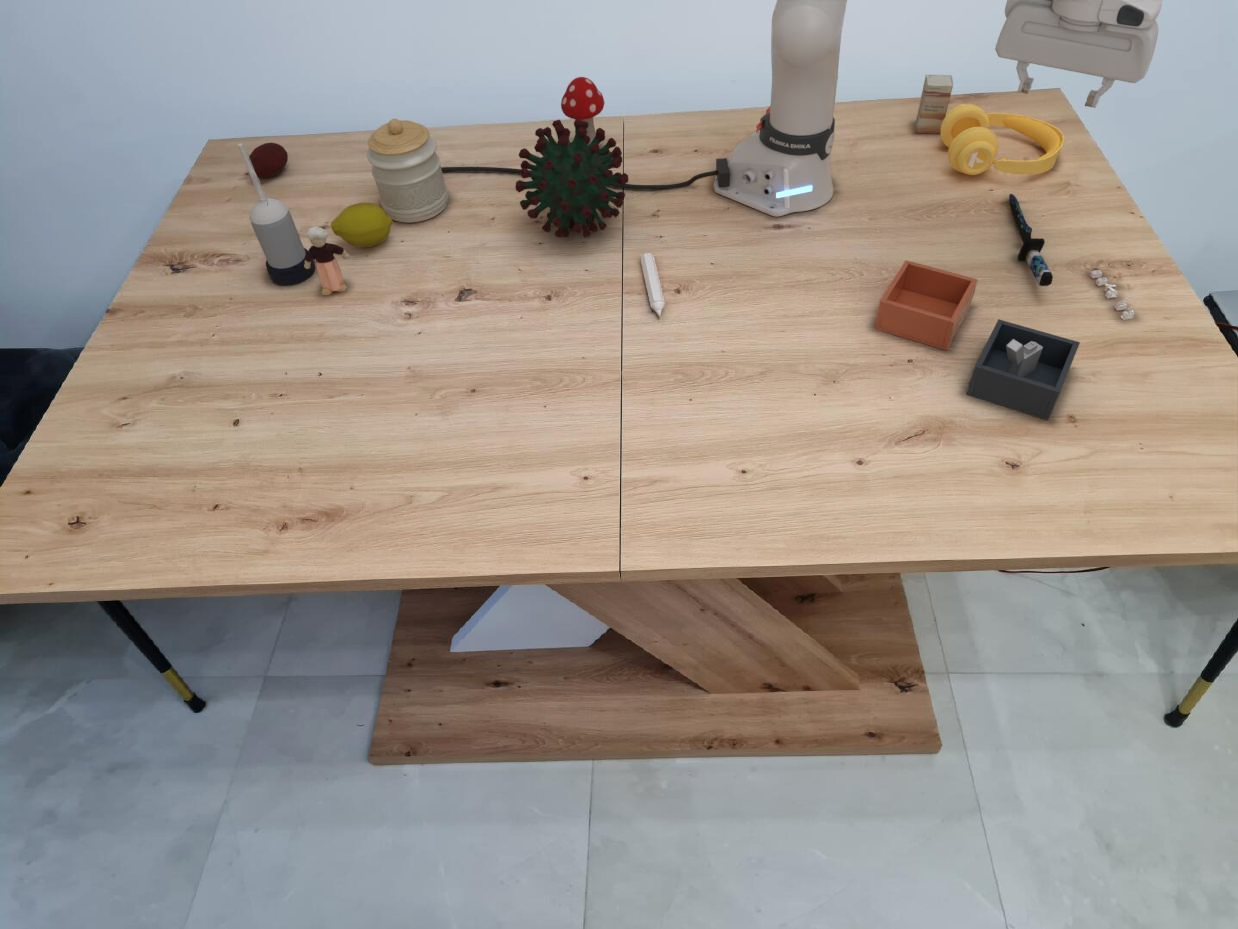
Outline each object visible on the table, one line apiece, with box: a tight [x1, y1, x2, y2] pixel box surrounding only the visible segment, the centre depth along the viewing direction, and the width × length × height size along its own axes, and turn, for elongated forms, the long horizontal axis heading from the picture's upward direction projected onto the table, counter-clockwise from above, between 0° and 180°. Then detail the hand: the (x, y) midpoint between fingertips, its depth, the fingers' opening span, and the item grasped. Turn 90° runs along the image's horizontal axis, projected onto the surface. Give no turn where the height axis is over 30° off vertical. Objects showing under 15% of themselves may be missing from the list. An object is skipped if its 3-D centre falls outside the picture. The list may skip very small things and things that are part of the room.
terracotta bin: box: [874, 259, 979, 351], centre depth 142 cm, size 12×12×6 cm
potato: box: [248, 142, 289, 179], centre depth 185 cm, size 8×9×6 cm
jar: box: [366, 118, 449, 223], centre depth 169 cm, size 13×13×18 cm
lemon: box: [330, 202, 394, 248], centre depth 165 cm, size 11×8×8 cm
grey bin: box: [966, 319, 1081, 421], centre depth 131 cm, size 12×12×6 cm
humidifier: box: [237, 142, 316, 287], centre depth 155 cm, size 8×8×25 cm
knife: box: [1008, 193, 1054, 287], centre depth 152 cm, size 31×3×4 cm, turn 170°
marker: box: [640, 252, 666, 317], centre depth 152 cm, size 3×2×16 cm
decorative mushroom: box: [560, 76, 605, 148], centre depth 179 cm, size 10×9×15 cm
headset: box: [940, 103, 1066, 176], centre depth 169 cm, size 18×21×9 cm
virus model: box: [515, 119, 629, 239], centre depth 159 cm, size 20×20×20 cm
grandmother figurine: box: [304, 225, 350, 296], centre depth 155 cm, size 8×4×13 cm, turn 118°
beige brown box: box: [915, 74, 954, 135], centre depth 178 cm, size 5×4×10 cm
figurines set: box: [1089, 269, 1136, 321], centre depth 143 cm, size 12×3×3 cm, turn 7°
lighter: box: [1006, 339, 1043, 377], centre depth 130 cm, size 7×2×8 cm, turn 124°
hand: (1056, 98), depth 131 cm, fingers open, 8 cm apart
